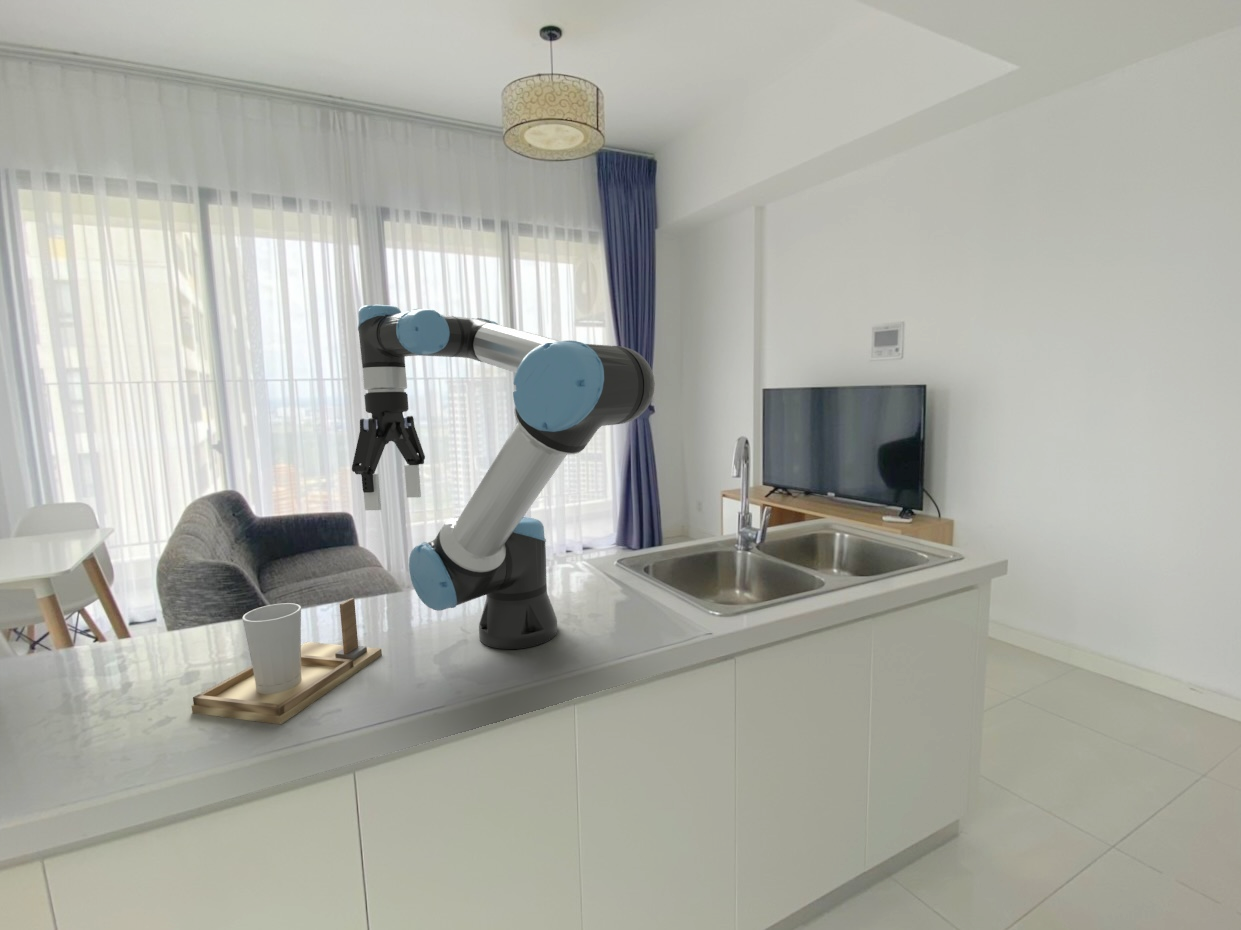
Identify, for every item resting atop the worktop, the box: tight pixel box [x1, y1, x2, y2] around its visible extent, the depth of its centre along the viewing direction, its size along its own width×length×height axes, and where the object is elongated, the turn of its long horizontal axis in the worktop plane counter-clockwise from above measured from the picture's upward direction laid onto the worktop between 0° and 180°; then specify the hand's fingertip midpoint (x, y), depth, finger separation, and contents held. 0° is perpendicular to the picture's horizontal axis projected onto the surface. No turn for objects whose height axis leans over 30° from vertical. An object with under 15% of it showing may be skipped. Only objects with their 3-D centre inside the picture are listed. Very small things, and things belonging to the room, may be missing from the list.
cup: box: [242, 602, 302, 694], centre depth 92 cm, size 8×8×12 cm
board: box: [191, 597, 383, 725], centre depth 96 cm, size 16×23×11 cm
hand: (394, 503), depth 111 cm, fingers open, 13 cm apart
